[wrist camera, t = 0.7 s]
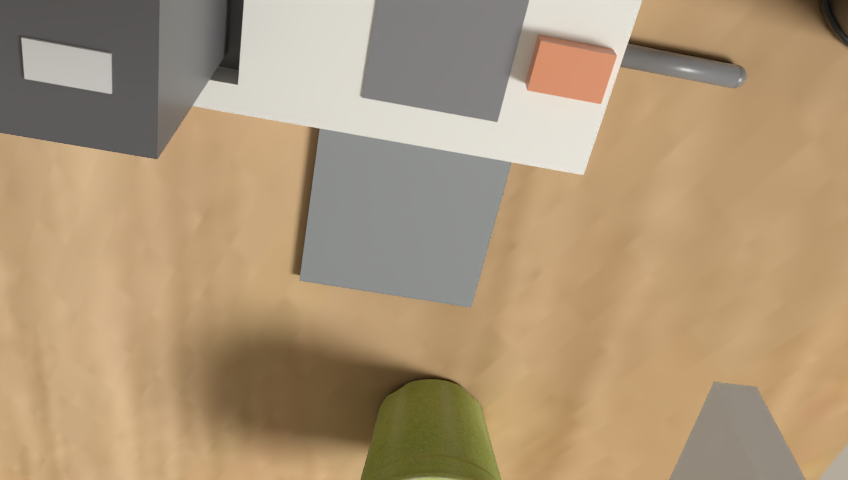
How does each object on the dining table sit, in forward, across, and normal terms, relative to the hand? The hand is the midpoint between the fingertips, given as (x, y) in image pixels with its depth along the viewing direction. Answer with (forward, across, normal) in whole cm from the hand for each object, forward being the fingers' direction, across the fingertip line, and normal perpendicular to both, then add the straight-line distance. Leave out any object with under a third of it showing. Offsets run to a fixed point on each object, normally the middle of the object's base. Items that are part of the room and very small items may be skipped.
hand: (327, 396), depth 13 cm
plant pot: (+24, +6, -23) cm, 33 cm away
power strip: (+23, 0, 0) cm, 23 cm away
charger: (+21, -8, +1) cm, 23 cm away
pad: (+24, +2, -10) cm, 26 cm away
